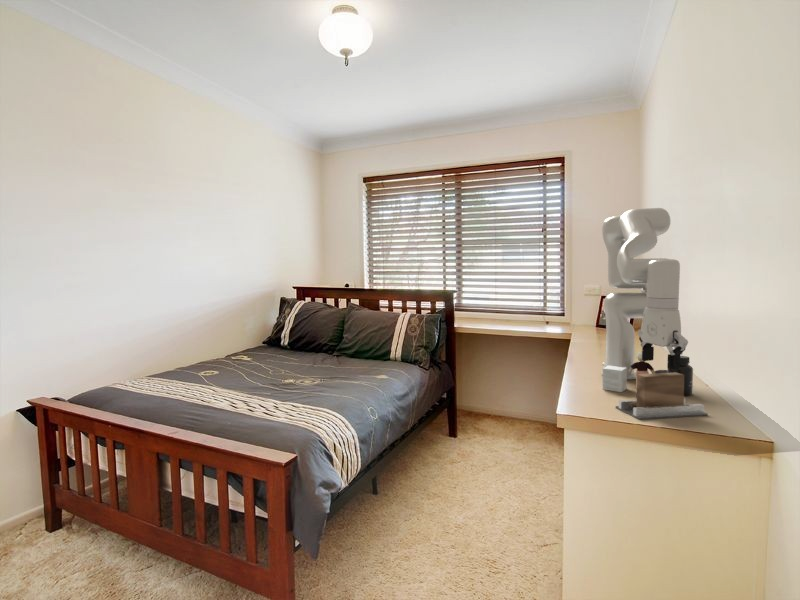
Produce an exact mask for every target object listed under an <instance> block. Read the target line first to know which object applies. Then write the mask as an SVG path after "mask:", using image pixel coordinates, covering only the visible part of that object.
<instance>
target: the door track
mask: <svg viewBox="0 0 800 600" xmlns="http://www.w3.org/2000/svg"><path fill="white" fill-rule="evenodd" d="M686 399H687V398H686V397H684V405H669V406H651V407H636V406H637V399H625V400H618V405H615V409H618V410H619V411H621V412H624V413H626V414H627V415H629V416H632V417H633V418H635V419H637V420H640V421H641V420H643V421H644V420H658V419H675V418H690V417H706V416H708V413H706V412H704V410H705V409H704V407H705V405H704V404H702V403H692V404H691V403H689V404H686Z"/></svg>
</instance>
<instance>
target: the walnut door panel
mask: <svg viewBox="0 0 800 600" xmlns="http://www.w3.org/2000/svg"><path fill="white" fill-rule="evenodd" d="M684 398H685V396H684V375H683V374H680V373H676V372H674V373H653V374H652V373H649V374H637V389H636V400H637V406H636V407H651V406H669V405H684Z"/></svg>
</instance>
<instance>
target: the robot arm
mask: <svg viewBox="0 0 800 600" xmlns="http://www.w3.org/2000/svg"><path fill="white" fill-rule="evenodd" d="M670 226H671V216H670V213H669V212H668V211H667V210H666V209H665V208H662V207H653V208H633V209H629V210H627V211H625V212H624V213H622V215H616V216H615V215H614V216H611V217H608V218H606V219H604V221H603V222H602V226H601V227H602V228H601V233H602V239H603V243H604V245H605V247H606V251H607V277H608V278H607V280H608V285H609V286H610V288H612V289H616V290H640V292H614V293H609V294H607V295H606V296H605V298H604V300H603V307H604V315H605V325H606V326H605V328H606V329H605V333H606V335H605V336H606V337H605V339H606V340H605V343H606V344H605V361H604V362H602V365H601V366H603V367H606V366H608V365H609V366H617V367H625V368H627V381H628V380H629V381H630V380H636V371H635V369H633V370H632V372H629V369H630V366H631V365H632V364H634V363H635V355H636V354H635V348H636V347H635V344H636V343H635V339H636V332H635V327H634V326H633V324H631V323H630V322H629V320H628V319H641V327H640V328H639V329H638V330H637V334H638V339H639V341H640V346H641V347H642V349H641V350H642V360H643V361H645V362H649V361H653V360H654V352H655V351H654V350H655V348H654V346H653V345H655V346H658V347H661V348H662V347H663V348H664V347H666V349H667V350H668V351H667V352H668V353H669V354H667V369H679V368H680V356H683V352H685V351H686V348H687V346H688V344H689V341H688V339H686V338H685V337H684V336H683V335H682V325H681V323H682V322H681V314H680V310H679V302H680V301H679V300H680V298H679V297H680V296H679V295H680V273H681V272H680V271H681V264H680V261H679V260H677V259H673V258H671V259H670V258H636V257H639V256H641V255H643V254H646V253H648V252H651V250H653V249H654V248H655V247H656V245H657V243H658V237H659V236H661V235H664V234H666V232H667V231H668V230H670ZM600 372H601V373H600V374H601V375H602V376H603V369H602V370H601V371H600Z"/></svg>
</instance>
